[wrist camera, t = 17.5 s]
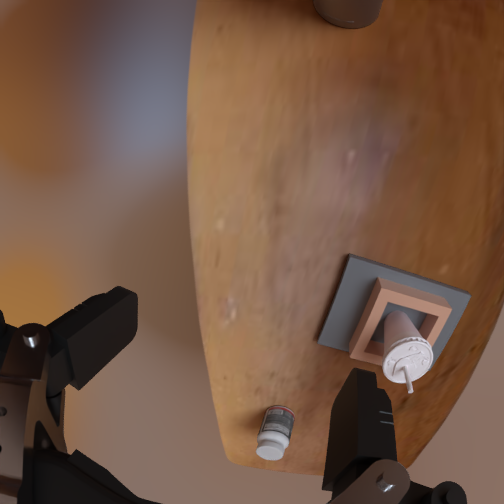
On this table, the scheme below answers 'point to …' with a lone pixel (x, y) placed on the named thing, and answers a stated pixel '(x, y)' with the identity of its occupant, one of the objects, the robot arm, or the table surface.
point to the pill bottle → (275, 432)
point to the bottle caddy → (388, 308)
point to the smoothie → (404, 350)
